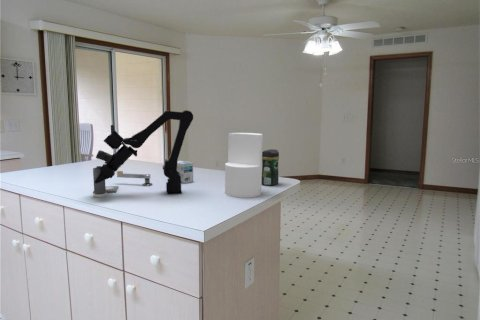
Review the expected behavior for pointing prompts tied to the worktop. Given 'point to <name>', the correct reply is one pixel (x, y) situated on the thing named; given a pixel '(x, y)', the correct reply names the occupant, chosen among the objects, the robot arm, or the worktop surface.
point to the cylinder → (244, 165)
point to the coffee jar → (270, 167)
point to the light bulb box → (185, 171)
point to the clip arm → (132, 175)
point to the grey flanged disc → (147, 182)
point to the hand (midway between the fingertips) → (96, 181)
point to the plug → (98, 184)
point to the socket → (111, 189)
